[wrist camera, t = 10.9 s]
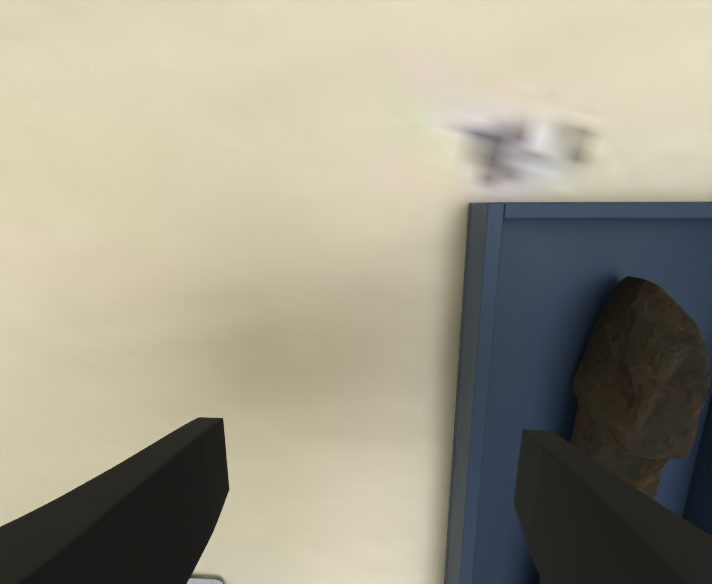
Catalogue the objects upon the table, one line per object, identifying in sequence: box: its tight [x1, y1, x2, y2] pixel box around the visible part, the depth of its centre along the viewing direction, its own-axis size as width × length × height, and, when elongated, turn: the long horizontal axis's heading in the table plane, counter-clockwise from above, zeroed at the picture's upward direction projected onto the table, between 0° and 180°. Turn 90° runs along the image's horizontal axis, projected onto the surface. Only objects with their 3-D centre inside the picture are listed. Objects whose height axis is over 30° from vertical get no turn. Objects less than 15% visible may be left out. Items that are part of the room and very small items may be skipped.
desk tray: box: [444, 202, 712, 584], centre depth 17 cm, size 12×25×3 cm, turn 0°
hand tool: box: [539, 276, 711, 584], centre depth 16 cm, size 19×4×5 cm, turn 175°
